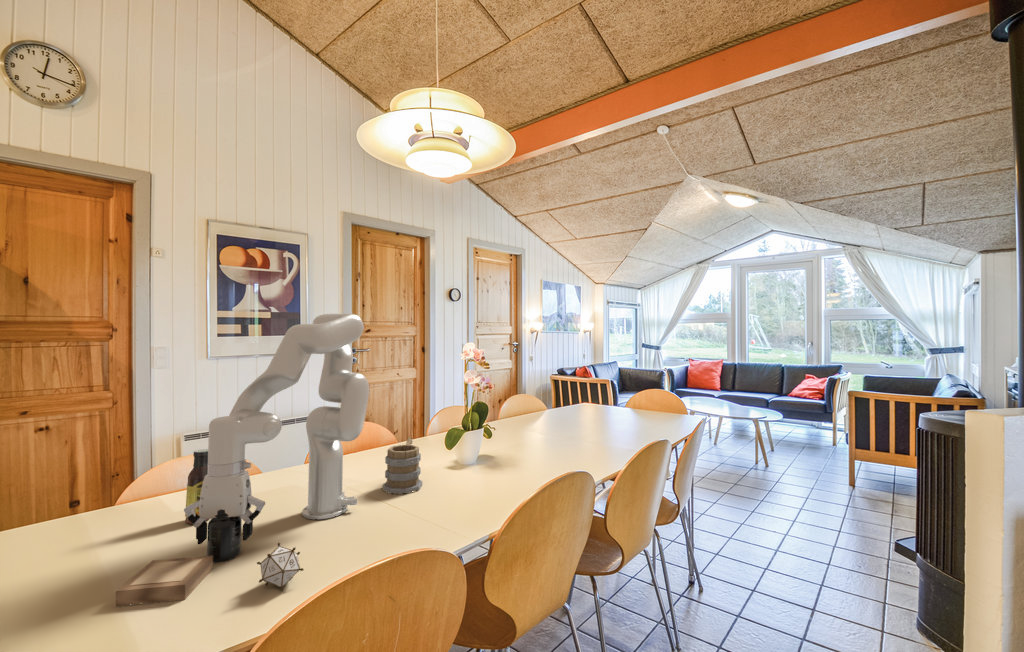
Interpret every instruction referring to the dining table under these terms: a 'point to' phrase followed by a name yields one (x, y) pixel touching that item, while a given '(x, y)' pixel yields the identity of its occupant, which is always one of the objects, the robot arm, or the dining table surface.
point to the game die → (279, 566)
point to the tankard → (403, 468)
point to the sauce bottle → (196, 479)
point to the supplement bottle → (224, 537)
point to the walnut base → (165, 580)
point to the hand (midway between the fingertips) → (224, 539)
